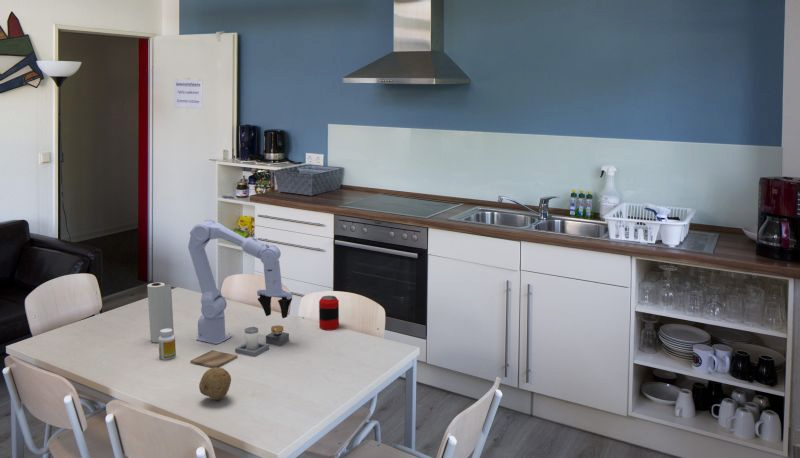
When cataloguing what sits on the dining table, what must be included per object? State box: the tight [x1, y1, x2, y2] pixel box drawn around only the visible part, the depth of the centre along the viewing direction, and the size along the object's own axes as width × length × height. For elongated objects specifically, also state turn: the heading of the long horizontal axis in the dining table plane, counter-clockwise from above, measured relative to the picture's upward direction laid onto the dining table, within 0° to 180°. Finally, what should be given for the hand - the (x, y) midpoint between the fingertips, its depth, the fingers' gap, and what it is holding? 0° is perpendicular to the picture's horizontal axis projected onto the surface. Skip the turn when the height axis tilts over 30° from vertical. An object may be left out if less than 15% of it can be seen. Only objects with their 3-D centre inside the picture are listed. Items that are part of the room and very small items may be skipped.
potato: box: [198, 367, 232, 401], centre depth 203 cm, size 9×9×10 cm
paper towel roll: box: [146, 282, 175, 344], centre depth 250 cm, size 7×6×21 cm
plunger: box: [270, 325, 284, 336], centre depth 251 cm, size 4×4×3 cm
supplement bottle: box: [158, 329, 177, 361], centre depth 236 cm, size 5×5×10 cm
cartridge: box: [244, 326, 259, 351], centre depth 242 cm, size 5×5×8 cm
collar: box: [234, 342, 270, 358], centre depth 243 cm, size 8×8×2 cm
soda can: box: [318, 295, 340, 331], centre depth 268 cm, size 8×8×12 cm
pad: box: [189, 350, 238, 369], centre depth 234 cm, size 11×11×1 cm
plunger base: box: [265, 331, 290, 347], centre depth 251 cm, size 6×6×3 cm
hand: (276, 316), depth 249 cm, fingers open, 7 cm apart
